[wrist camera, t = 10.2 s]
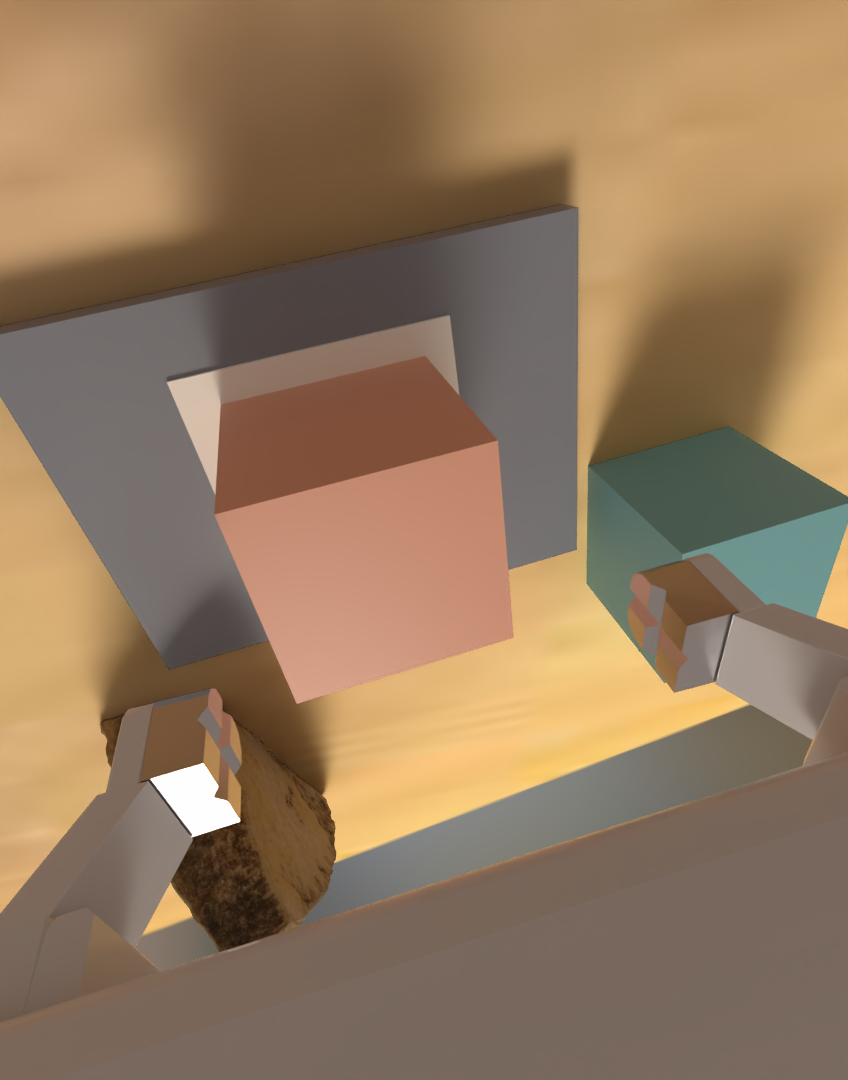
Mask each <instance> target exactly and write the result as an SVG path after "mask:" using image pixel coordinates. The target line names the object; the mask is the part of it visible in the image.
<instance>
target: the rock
mask: <svg viewBox="0 0 848 1080" xmlns="http://www.w3.org/2000/svg"><path fill="white" fill-rule="evenodd" d="M222 712H224V713H226V712H225V711H224V710H223V709H222ZM124 715H125V714H123V715H121V716H120V717H118V718H114V719H110V720H104V721H103V722H102V724H101V727H100V728H101V733H102V734H104V735H105V736H106V738H107V746H106V755H107V757H108V764H109V765H110V767H112V762H113V758H114V753H115V749H116V744H117V740H118V735H119V731H120V726H121V722H122V718H123V716H124ZM235 724H236V727H237V730H238V733H239V738H240V744H241V766H240V768H239V769H238V771H237V772H236V774H235V777H236V779H237V781H238V782H239V784H240V786H241V814H240V822H237V823H234V824H231V825H227V826H224V827H221V828H218V829H215V830H212V831H209V832H206V833H203V834H200V835H197V836H194V837H192V839H193V841H192V843H191V844H190V846H189V848H188V850H187V852H186V854H185V856H184V858H183V859H182V861H181V863H180V865H179V867H178V869H177V871H176V873H175V874H174V876H173V878H172V880H171V883H172V886H173V888H174V889H175V891H176V892H177V894H178V895H179V896H180V898H181V899H182V900H183V901H184V903H185V904H186V905H187V906H188V907H189V909H190V911H191V913H192V916H193V918H194V919H195V920H196V922H197V923H198V924H199V925H200V926H201V927H202V928H203V929H204V930H205V931H206V933H207V934H208V935H209V936H210V938H211V939H212V940H213V942H214V943H215V945H216V947H217V949H218V951H219V952H222V951H225V950H228V949H231V948H234V947H237V946H241V945H244V944H247V943H250V942H253V941H256V940H259V939H262V938H266V937H269V936H272V935H275V934H278V933H281V932H284V931H287V930H291V929H294V928H297V927H298V926H299V924H301V923H302V922H303V921H304V919H305V917H306V915H307V914H308V912H309V911H310V910H311V909H312V908H313V907H314V906H315V905H316V904H317V903H318V902H319V901H320V900H321V898H322V897H323V896H324V894H325V893H326V891H327V889H328V886H329V882H330V875H331V874H332V872H333V870H332V866H333V864H334V861H335V859H336V850H335V847H334V842H335V837H334V833H335V829H336V828H335V825H334V824H335V822H334V821H333V820H332V819H331V811H330V808H329V806H328V804H327V801H326V799H325V798H324V797H323V796H322V795H321V794H320V793H319V792H318V791H317V790H316V789H314V788H313V787H312V786H310V785H309V784H308V783H306V782H305V781H303V780H301V779H300V778H299V777H297V776H296V775H295V774H294V772H293V771H291V770H290V769H289V768H287V767H286V766H285V765H284V764H281V763H280V762H279V761H278V760H277V759H276V758H275V757H273V756H272V755H271V754H270V753H269V752H268V751H267V748H266V747H265V746H264V745H263V744H262V743H261V742H260V741H258V740H257V739H255V738H254V737H253V736H252V735H251V733H250V732H249V731H248V730H246V729H244V728H243V727H241V726H240V725H238V724H237V723H236V722H235Z"/></svg>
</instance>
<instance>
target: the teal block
mask: <svg viewBox="0 0 848 1080" xmlns="http://www.w3.org/2000/svg"><path fill="white" fill-rule="evenodd" d="M847 524H848V497H847V496H846V495H844V494H842V493H841V492H839V491H837V490H836V489H834V488H832V487H830V486H829V485H827V484H825V483H824V482H822V481H820V480H819V479H817V478H815V477H814V476H812V475H810V474H808V473H807V472H805V471H803V470H802V469H800V468H798V467H797V466H795V465H793V464H792V463H790V462H788V461H786V460H785V459H783V458H781V457H780V456H778V455H776V454H775V453H773V452H771V451H770V450H768V449H766V448H764V447H763V446H761V445H759V444H758V443H756V442H754V441H753V440H751V439H749V438H748V437H746V436H744V435H742V434H741V433H739V432H737V431H736V430H734V429H732V428H731V427H725V428H722V429H718V430H715V431H711V432H708V433H704V434H700V435H697V436H693V437H690V438H686V439H683V440H679V441H675V442H672V443H668V444H665V445H661V446H658V447H654V448H650V449H647V450H643V451H640V452H636V453H633V454H629V455H626V456H622V457H618V458H615V459H611V460H608V461H604V462H601V463H597V464H593V465H590V466H588V514H587V585H588V586H589V587H590V589H591V590H592V591H593V592H594V594H595V595H596V596H597V597H598V599H599V600H600V601H601V603H602V604H603V605H604V606H605V608H606V609H607V610H608V611H609V613H610V614H611V615H612V617H613V618H614V619H615V620H616V622H617V623H618V624H619V625H620V627H621V628H622V629H623V631H624V632H625V633H626V634H627V636H628V637H629V638H630V640H631V641H632V642H633V643H634V645H635V646H636V647H637V648H638V650H639V651H640V652H641V654H642V655H643V656H644V657H645V659H646V660H647V661H648V662H649V664H650V665H651V666H652V668H653V669H654V670H655V671H656V673H657V674H658V675H659V677H660V678H661V679H662V680H663V682H664V683H666V681H665V680H664V678H663V677H662V676H661V674H660V673H659V672H658V670H657V669H656V668H655V661H656V656H654V655H652V654H650V653H648V652H646V651H644V650H642V649H641V647H640V646H639V644H638V643H637V642H636V640H635V638H634V636H633V634H632V632H631V629H630V625H629V621H628V605H629V604H630V603H631V601H632V600H633V599H634V597H635V596H636V595H635V594H634V593H633V591H632V590H631V589H630V586H631V579H632V577H633V575H634V574H635V573H637V572H640V571H644V570H648V569H651V568H655V567H658V566H662V565H665V564H669V563H672V562H676V561H682V560H683V559H687V558H690V557H694V556H698V555H701V554H705V553H708V554H711V555H713V556H714V557H715V558H717V559H718V560H719V561H720V562H721V563H722V564H723V565H724V566H725V567H726V568H727V569H728V570H729V571H730V572H732V573H733V574H734V575H735V576H736V577H737V578H738V579H739V580H740V581H741V582H742V583H743V584H744V585H746V586H747V587H748V588H749V589H750V590H751V591H752V592H753V593H754V594H755V595H756V596H757V597H758V598H759V599H761V600H762V601H763V602H764V603H765V604H766V605H768V604H772V603H775V604H778V605H780V606H783V607H786V608H789V609H792V610H794V611H797V612H800V613H803V614H806V615H809V616H811V617H814V618H816V615H817V612H818V609H819V606H820V604H821V601H822V598H823V595H824V592H825V589H826V586H827V583H828V580H829V577H830V574H831V571H832V568H833V565H834V562H835V559H836V556H837V554H838V551H839V548H840V545H841V542H842V539H843V536H844V533H845V530H846V527H847Z"/></svg>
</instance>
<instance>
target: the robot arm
mask: <svg viewBox="0 0 848 1080" xmlns="http://www.w3.org/2000/svg"><path fill="white" fill-rule="evenodd" d="M630 589H631V590H632V591H633V593H634V594H635V595H636V596H635V597H634V599H633V600H632V601H631V603H630V604H629V605H628V621H629V625H630V629H631V632H632V634H633V636H634V638H635V640H636V642H637V643H638V644H639V646H640V647H641V649H642V650H644V651H646V652H648V653H650V654H652V655H654V656H656V661H655V668H656V669H657V670H658V672H659V673H660V674H661V676H662V677H663V678H664V680H665V681H666V682H667V684H668V685H669V686H670V688H671V689H672V690H673V692H674V693H675V692H679V691H682V690H686V689H690V688H694V687H697V686H701V685H705V684H709V683H712V682H716V685H718V686H720V687H722V688H723V689H725V690H727V691H729V692H730V693H732V694H734V695H736V696H737V697H739V698H741V699H742V700H744V701H746V702H748V703H749V704H751V705H753V706H755V707H756V708H758V709H760V710H761V711H763V712H765V713H767V714H768V715H770V716H772V717H774V718H775V719H777V720H779V721H781V722H782V723H784V724H786V725H787V726H789V727H791V728H793V729H795V730H796V731H798V732H800V733H801V734H803V735H805V736H806V737H808V738H810V739H812V740H813V741H812V744H811V746H810V748H809V750H808V752H807V755H806V757H805V759H804V763H803V766H801V767H798V768H795V769H792V770H789V771H786V772H782V773H779V774H776V775H773V776H770V777H767V778H764V779H761V780H757V781H754V782H752V783H748V784H745V785H742V786H739V787H735V788H733V789H729V790H726V791H723V792H720V793H717V794H714V795H710V796H707V797H704V798H701V799H698V800H695V801H692V802H688V803H686V804H682V805H679V806H676V807H673V808H670V809H666V810H663V811H660V812H657V813H654V814H651V815H648V816H645V817H641V818H638V819H635V820H632V821H629V822H626V823H622V824H619V825H616V826H613V827H610V828H607V829H604V830H600V831H597V832H594V833H591V834H588V835H585V836H582V837H579V838H575V839H572V840H569V841H566V842H563V843H560V844H557V845H553V846H550V847H547V848H544V849H541V850H538V851H535V852H532V853H528V854H525V855H523V856H519V857H516V858H513V859H510V860H507V861H503V862H500V863H497V864H494V865H491V866H488V867H485V868H481V869H478V870H475V871H472V872H469V873H466V874H463V875H460V876H456V877H453V878H450V879H447V880H444V881H441V882H438V883H435V884H432V885H428V886H425V887H422V888H419V889H416V890H413V891H410V892H407V893H403V894H400V895H398V896H394V897H391V898H388V899H385V900H381V901H378V902H376V903H372V904H369V905H366V906H363V907H359V908H356V909H353V910H350V911H347V912H344V913H341V914H338V915H334V916H331V917H328V918H325V919H322V920H319V921H316V922H313V923H309V924H306V925H303V926H300V927H297V928H294V929H291V930H287V931H284V932H281V933H278V934H275V935H272V936H269V937H266V938H262V939H259V940H256V941H253V942H250V943H247V944H244V945H241V946H237V947H234V948H231V949H228V950H225V951H222V952H219V953H216V954H213V955H209V956H206V957H203V958H200V959H197V960H194V961H190V962H187V963H184V964H181V965H178V966H175V967H172V968H169V969H165V970H162V971H160V970H159V969H158V968H157V967H156V966H155V965H154V964H152V963H151V962H150V961H149V960H148V959H147V958H146V957H144V956H143V955H142V954H141V953H140V952H138V951H137V950H136V949H135V947H136V946H137V944H138V942H139V940H140V938H141V936H142V934H143V932H144V931H145V929H146V927H147V925H148V923H149V921H150V919H151V917H152V916H153V914H154V912H155V910H156V908H157V906H158V904H159V902H160V901H161V899H162V897H163V895H164V893H165V891H166V889H167V887H168V886H169V884H170V882H171V880H172V878H173V876H174V874H175V873H176V871H177V869H178V867H179V865H180V863H181V861H182V859H183V858H184V856H185V854H186V852H187V850H188V848H189V846H190V844H191V843H192V841H193V839H192V837H194V836H197V835H200V834H203V833H206V832H209V831H212V830H215V829H218V828H221V827H224V826H227V825H231V824H234V823H237V822H240V814H241V786H240V784H239V782H238V781H237V779H236V777H235V774H236V772H237V771H238V769H239V768H240V766H241V744H240V738H239V733H238V730H237V727H236V724H235V722H234V720H233V718H232V716H231V715H229V714H227V713H224V712H222V703H223V700H222V698H221V697H220V695H219V693H218V692H217V690H216V689H213V688H211V689H207V690H202V691H198V692H194V693H190V694H186V695H182V696H178V697H174V698H170V699H166V700H162V701H158V702H156V703H152V704H148V705H144V706H140V707H135V708H131V709H128V710H127V712H126V713H125V715H124V716H123V718H122V722H121V726H120V731H119V735H118V740H117V744H116V749H115V753H114V758H113V762H112V767H111V771H110V776H109V780H108V785H107V789H106V793H103V794H100V795H97V796H96V797H95V799H94V800H93V801H92V802H91V803H90V805H89V806H88V807H87V808H86V810H85V811H84V812H83V813H82V814H81V816H80V817H79V818H78V819H77V821H76V822H75V823H74V824H73V825H72V827H71V828H70V829H69V830H68V832H67V833H66V834H65V835H64V836H63V838H62V839H61V840H60V841H59V843H58V844H57V845H56V846H55V847H54V849H53V850H52V851H51V852H50V854H49V855H48V856H47V857H46V859H45V860H44V861H43V862H42V863H41V865H40V866H39V867H38V868H37V870H36V871H35V872H34V873H33V874H32V876H31V877H30V878H29V879H28V881H27V882H26V883H25V884H24V885H23V887H22V888H21V889H20V890H19V892H18V893H17V894H16V895H15V896H14V898H13V899H12V900H11V901H10V903H9V904H8V905H7V906H6V908H5V909H4V910H3V911H2V912H1V914H0V1080H848V629H845V628H842V627H840V626H837V625H834V624H831V623H828V622H825V621H823V620H820V619H817V618H814V617H811V616H809V615H806V614H803V613H800V612H797V611H794V610H792V609H789V608H786V607H783V606H780V605H778V604H775V603H772V604H768V605H766V604H765V603H764V602H763V601H762V600H761V599H759V598H758V597H757V596H756V595H755V594H754V593H753V592H752V591H751V590H750V589H749V588H748V587H747V586H746V585H744V584H743V583H742V582H741V581H740V580H739V579H738V578H737V577H736V576H735V575H734V574H733V573H732V572H730V571H729V570H728V569H727V568H726V567H725V566H724V565H723V564H722V563H721V562H720V561H719V560H718V559H717V558H715V557H714V556H713V555H711V554H708V553H705V554H701V555H698V556H694V557H690V558H687V559H683V560H682V561H676V562H672V563H669V564H665V565H662V566H658V567H655V568H651V569H648V570H644V571H640V572H637V573H635V574H634V575H633V577H632V579H631V586H630Z"/></svg>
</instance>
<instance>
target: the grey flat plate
mask: <svg viewBox="0 0 848 1080" xmlns="http://www.w3.org/2000/svg"><path fill="white" fill-rule="evenodd" d="M422 356H426V357H427V358H428V360H429V361H430V362H431V363H432V364H433V365H434V367H435V368H436V369H437V370H438V371H439V372H440V374H441V375H442V376H443V377H444V378H445V379H446V381H447V382H448V383H449V384H450V385H451V386H452V388H453V389H454V390H455V391H456V392H457V393H458V395H459V396H460V397H461V398H462V399H463V400H464V402H465V403H466V404H467V405H468V406H469V407H470V409H471V410H472V411H473V412H474V413H475V414H476V416H477V417H478V418H479V419H480V420H481V421H482V423H483V424H484V425H485V426H486V427H487V428H488V430H489V431H490V432H491V433H492V434H493V435H494V437H495V438H496V439H497V440H498V448H499V461H500V473H501V486H502V499H503V511H504V524H505V536H506V549H507V562H508V570H510V569H513V568H516V567H520V566H523V565H527V564H530V563H533V562H537V561H540V560H543V559H547V558H550V557H554V556H557V555H560V554H564V553H567V552H571V551H574V550H577V372H578V207H573V206H568V205H563V204H561V205H556V206H552V207H547V208H543V209H538V210H534V211H529V212H524V213H520V214H515V215H511V216H506V217H501V218H497V219H492V220H488V221H483V222H478V223H474V224H469V225H465V226H460V227H456V228H451V229H446V230H442V231H437V232H433V233H428V234H423V235H419V236H414V237H410V238H405V239H400V240H396V241H391V242H387V243H382V244H377V245H373V246H368V247H364V248H359V249H355V250H350V251H345V252H341V253H336V254H332V255H327V256H322V257H318V258H313V259H309V260H304V261H299V262H295V263H290V264H286V265H281V266H277V267H272V268H267V269H263V270H258V271H254V272H249V273H244V274H240V275H235V276H231V277H226V278H221V279H217V280H212V281H208V282H203V283H198V284H194V285H189V286H185V287H180V288H176V289H171V290H166V291H162V292H157V293H153V294H148V295H143V296H139V297H134V298H130V299H125V300H120V301H116V302H111V303H107V304H102V305H98V306H93V307H88V308H84V309H79V310H75V311H70V312H65V313H61V314H56V315H52V316H47V317H42V318H38V319H33V320H29V321H24V322H19V323H15V324H10V325H6V326H1V327H0V397H1V398H2V400H3V402H4V403H5V405H6V407H7V408H8V410H9V411H10V413H11V415H12V416H13V418H14V420H15V421H16V423H17V424H18V426H19V428H20V429H21V431H22V432H23V434H24V436H25V437H26V439H27V441H28V442H29V444H30V445H31V447H32V449H33V450H34V452H35V454H36V455H37V457H38V458H39V460H40V462H41V463H42V465H43V467H44V468H45V470H46V471H47V473H48V475H49V476H50V478H51V480H52V481H53V483H54V484H55V486H56V488H57V489H58V491H59V493H60V494H61V496H62V497H63V499H64V501H65V502H66V504H67V506H68V507H69V509H70V510H71V512H72V514H73V515H74V517H75V519H76V520H77V522H78V523H79V525H80V527H81V528H82V530H83V531H84V533H85V535H86V536H87V538H88V540H89V541H90V543H91V544H92V546H93V548H94V549H95V551H96V553H97V554H98V556H99V557H100V559H101V561H102V562H103V564H104V566H105V567H106V569H107V570H108V572H109V574H110V575H111V577H112V579H113V580H114V582H115V583H116V585H117V587H118V588H119V590H120V592H121V593H122V595H123V596H124V598H125V600H126V601H127V603H128V605H129V606H130V608H131V609H132V611H133V613H134V614H135V616H136V618H137V619H138V621H139V622H140V624H141V626H142V627H143V629H144V631H145V632H146V634H147V635H148V637H149V639H150V640H151V642H152V643H153V645H154V647H155V648H156V650H157V652H158V653H159V655H160V656H161V658H162V660H163V661H164V663H165V665H166V666H167V668H168V669H169V670H170V669H173V668H177V667H180V666H183V665H187V664H190V663H194V662H197V661H200V660H204V659H207V658H211V657H214V656H217V655H221V654H224V653H228V652H231V651H234V650H238V649H241V648H245V647H248V646H251V645H255V644H258V643H262V642H265V641H268V640H269V639H268V637H267V634H266V632H265V630H264V628H263V625H262V623H261V621H260V618H259V616H258V614H257V611H256V609H255V607H254V605H253V602H252V600H251V598H250V595H249V593H248V591H247V589H246V586H245V584H244V582H243V579H242V577H241V575H240V572H239V570H238V568H237V566H236V563H235V561H234V559H233V556H232V554H231V552H230V550H229V547H228V545H227V543H226V540H225V538H224V536H223V533H222V531H221V529H220V527H219V524H218V522H217V520H216V517H215V515H214V511H215V494H216V476H217V459H218V442H219V424H220V407H221V404H225V403H229V402H234V401H238V400H242V399H246V398H250V397H255V396H259V395H263V394H267V393H271V392H276V391H280V390H284V389H288V388H292V387H297V386H301V385H305V384H309V383H313V382H317V381H322V380H326V379H330V378H334V377H338V376H343V375H347V374H351V373H355V372H359V371H364V370H368V369H372V368H376V367H380V366H384V365H389V364H393V363H397V362H401V361H405V360H410V359H414V358H418V357H422Z"/></svg>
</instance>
